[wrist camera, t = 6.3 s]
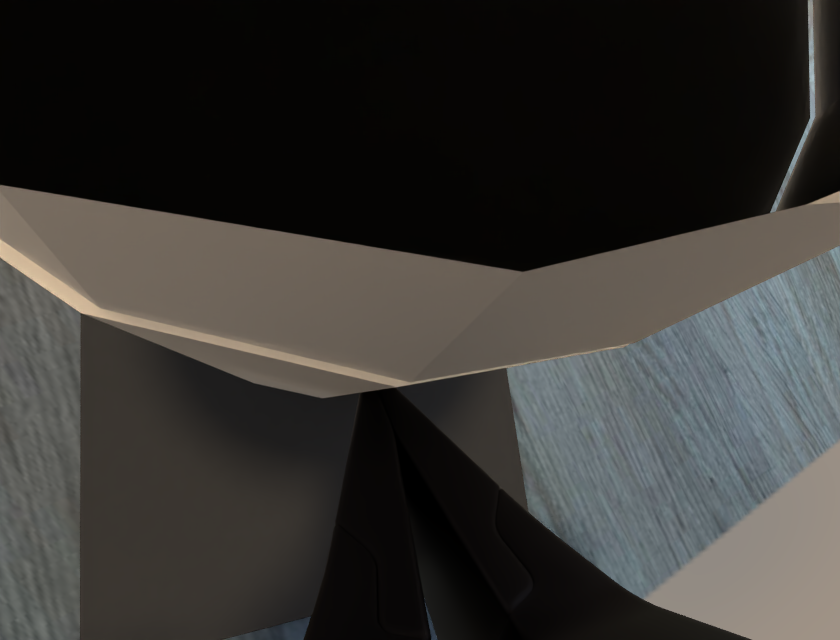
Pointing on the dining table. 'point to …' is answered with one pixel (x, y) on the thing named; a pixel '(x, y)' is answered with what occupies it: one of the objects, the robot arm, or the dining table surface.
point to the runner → (229, 486)
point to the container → (411, 173)
